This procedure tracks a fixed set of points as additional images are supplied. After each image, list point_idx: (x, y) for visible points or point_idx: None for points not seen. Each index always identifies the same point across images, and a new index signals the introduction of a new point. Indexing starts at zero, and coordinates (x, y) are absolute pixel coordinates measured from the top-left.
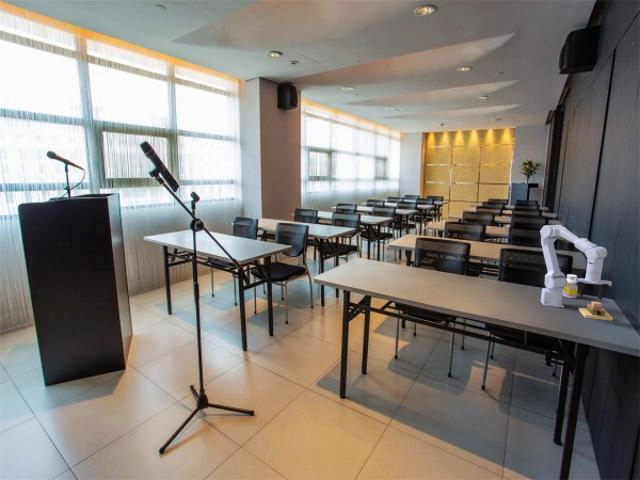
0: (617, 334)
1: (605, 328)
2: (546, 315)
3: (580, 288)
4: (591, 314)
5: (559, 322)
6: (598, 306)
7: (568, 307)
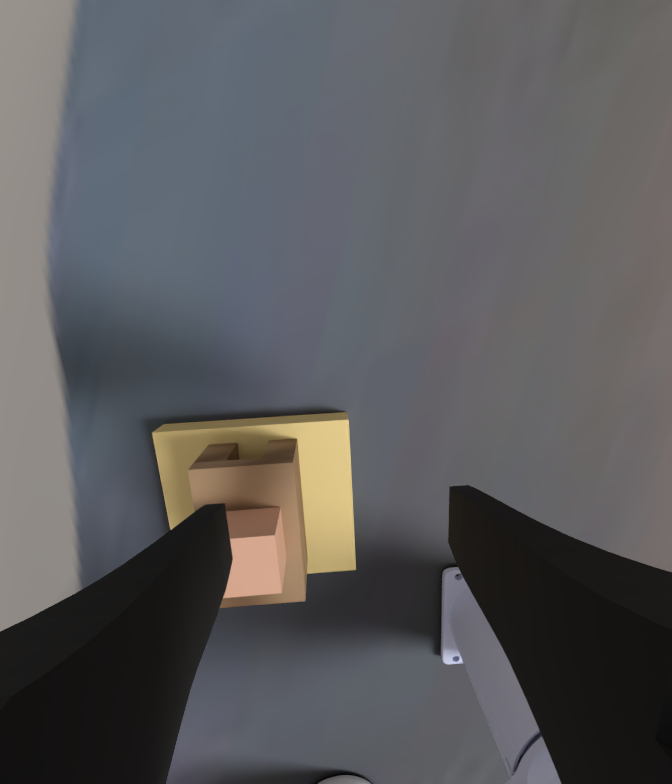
0: (188, 92)
1: (252, 214)
2: (628, 343)
3: (649, 568)
4: (300, 449)
5: (580, 208)
6: (236, 519)
7: (407, 588)
